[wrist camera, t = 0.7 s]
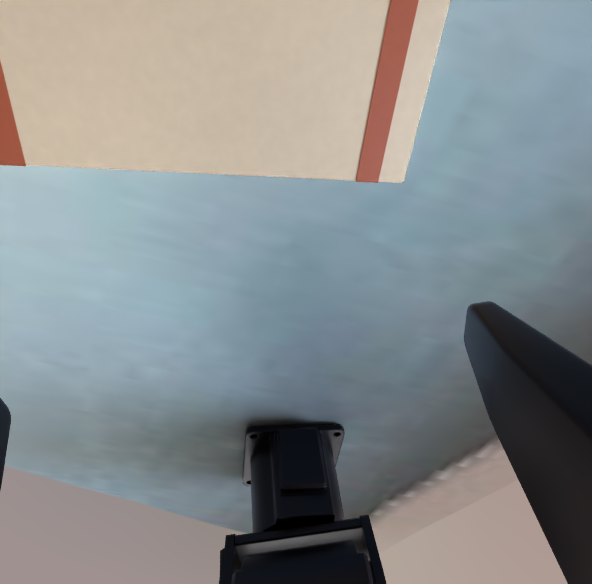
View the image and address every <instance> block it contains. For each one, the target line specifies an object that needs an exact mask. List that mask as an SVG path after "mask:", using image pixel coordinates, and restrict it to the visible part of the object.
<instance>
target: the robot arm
mask: <svg viewBox="0 0 592 584" xmlns="http://www.w3.org/2000/svg"><path fill="white" fill-rule="evenodd" d="M464 342H465V347H466V350H467V353H468V356H469V359H470V362H471V365H472V368H473V371H474V374H475V377H476V380H477V383H478V386H479V389H480V392H481V395H482V398H483V401H484V404H485V407H486V409H487V412H488V415H489V418H490V420H491V422H492V425H493V427H494V429H495V431H496V433H497V436H498V438H499V440H500V442H501V444H502V446H503V448H504V450H505V452H506V454H507V457H508V459H509V461H510V463H511V465H512V467H513V469H514V471H515V473H516V475H517V478H518V480H519V482H520V484H521V486H522V488H523V490H524V492H525V494H526V496H527V498H528V500H529V503H530V505H531V507H532V509H533V511H534V513H535V515H536V517H537V520H538V521H539V523H540V526H541V528H542V530H543V532H544V534H545V536H546V538H547V540H548V543H549V545H550V547H551V549H552V551H553V553H554V555H555V557H556V559H557V562H558V564H559V566H560V568H561V570H562V572H563V574H564V576H565V578H566V580H567V583H568V584H592V365H590V364H589V363H587V362H586V361H584V360H583V359H581V358H579V357H578V356H576V355H575V354H573V353H572V352H570V351H568V350H567V349H565V348H564V347H562V346H561V345H559V344H558V343H556V342H554V341H553V340H551V339H550V338H548V337H547V336H545V335H544V334H542V333H540V332H539V331H537V330H536V329H534V328H533V327H531V326H530V325H528V324H526V323H525V322H523V321H522V320H520V319H519V318H517V317H516V316H514V315H512V314H511V313H509V312H508V311H506V310H505V309H503V308H502V307H500V306H498V305H497V304H495V303H493V302H490V301H487V302H481V303H475V304H471V305H470V306H469V307H468V309H467V315H466V324H465V332H464ZM10 424H11V415H10V411H9V409H8V407H7V406H6V404H5V403H4V402H3V401H2V399H1V398H0V489H1V483H2V477H3V471H4V464H5V457H6V451H7V444H8V437H9V431H10ZM343 437H344V429H343V427H342V426H341V425H304V426H259V427H250V428H248V429H247V430H246V438H245V452H244V467H243V484H244V485H246V486H251V493H252V519H253V533H250V534H243V535H235V534H231V535H226V541H225V548H224V549H222V550H221V551H220V580H219V584H386V580H385V576H384V572H383V568H382V564H381V561H380V557H379V553H378V549H377V545H376V542H375V538H374V534H373V530H372V526H371V523H370V519H369V515H363V516H360V518H353V519H346V520H344V514H343V508H342V503H341V497H340V492H339V486H338V480H337V475H336V469H335V467H336V463H337V460H338V456H339V452H340V448H341V445H342V441H343Z"/></svg>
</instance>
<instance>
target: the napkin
mask: <svg viewBox="0 0 592 584" xmlns="http://www.w3.org/2000/svg"><path fill="white" fill-rule="evenodd" d="M450 1H451V0H0V165H14V166H26V165H35V166H56V167H77V168H99V169H120V170H141V171H162V172H183V173H204V174H226V175H247V176H268V177H289V178H310V179H331V180H353V181H356V182H376V183H378V182H395V183H404V179H405V176H406V172H407V168H408V164H409V160H410V156H411V152H412V148H413V145H414V141H415V137H416V133H417V129H418V125H419V121H420V117H421V114H422V110H423V106H424V102H425V98H426V94H427V90H428V86H429V83H430V79H431V75H432V71H433V67H434V63H435V59H436V55H437V52H438V48H439V44H440V40H441V36H442V32H443V28H444V24H445V21H446V17H447V13H448V9H449V5H450Z"/></svg>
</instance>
